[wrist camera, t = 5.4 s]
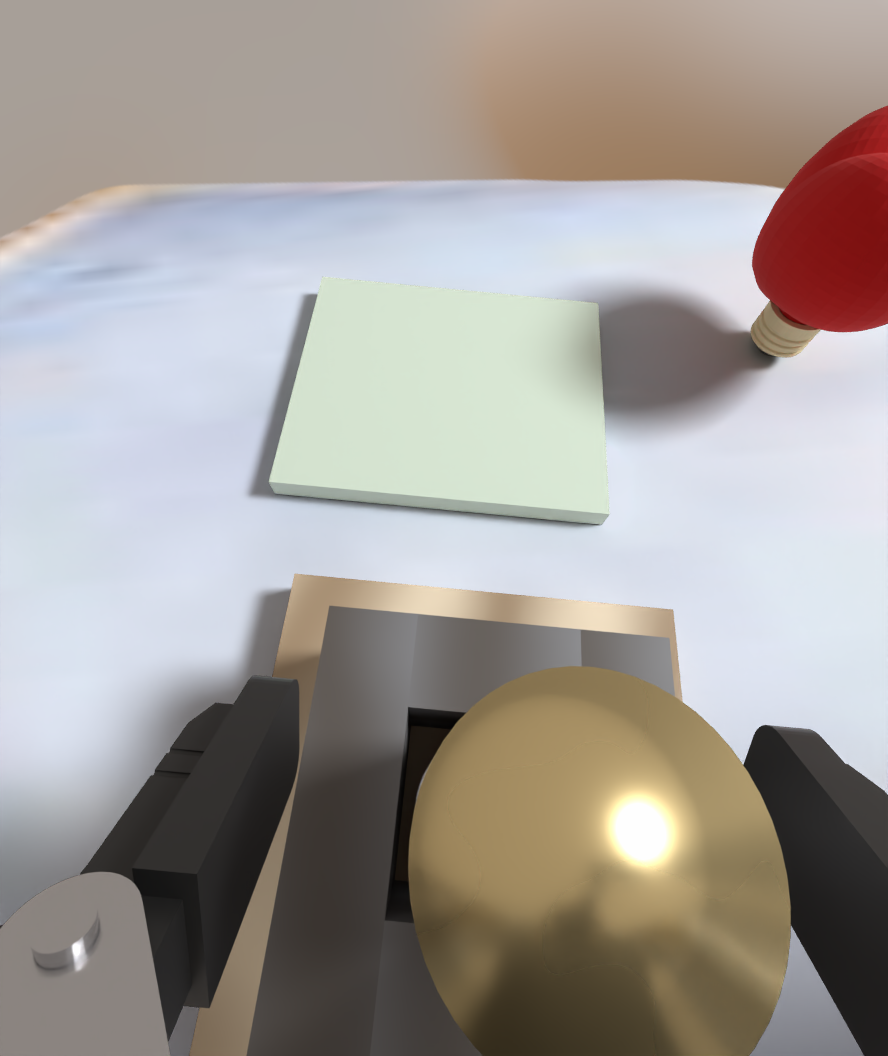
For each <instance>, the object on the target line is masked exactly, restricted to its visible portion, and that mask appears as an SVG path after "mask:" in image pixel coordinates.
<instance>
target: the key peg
mask: <svg viewBox="0 0 888 1056" xmlns="http://www.w3.org/2000/svg"><path fill="white" fill-rule="evenodd" d="M408 876H409V891H410V902H411V908H412V913H413V919H414V924H415V930H416V933H417V937H418V940H419V943H420V947H421V950H422V953H423V957H424V960H425V963H426V965H427V968H428V970H429V972H430V975H431V977H432V979H433V982H434V984H435V986H436V989H437V991H438V993H439V994H440V996H441V998H442V1000H443V1001H444V1003H445V1005H446V1007H447V1008H448V1010H449V1012H450V1014H451V1015H452V1017H453V1019H454V1020H455V1022H456V1023H457V1024H458V1026H459V1027H460V1028H461V1030H462V1031H463V1032H464V1034H465V1035H466V1036H467V1038H468V1039H469V1040H470V1042H471V1043H472V1044H473V1046H474V1047H475V1048H476V1049H477V1050H478V1051H479V1052H480V1053H481V1054H482V1055H483V1056H749V1055H750V1054H751V1052H752V1051H753V1050H754V1048H755V1047H756V1045H757V1043H758V1041H759V1040H760V1038H761V1036H762V1034H763V1033H764V1031H765V1029H766V1027H767V1026H768V1024H769V1022H770V1019H771V1017H772V1014H773V1012H774V1009H775V1006H776V1004H777V1001H778V999H779V996H780V993H781V989H782V985H783V981H784V977H785V972H786V968H787V962H788V954H789V945H790V937H791V905H790V896H789V887H788V878H787V873H786V868H785V863H784V859H783V854H782V850H781V846H780V843H779V840H778V837H777V834H776V831H775V828H774V825H773V822H772V819H771V817H770V815H769V812H768V810H767V808H766V805H765V803H764V801H763V799H762V796H761V794H760V793H759V791H758V789H757V787H756V785H755V784H754V782H753V780H752V778H751V777H750V775H749V773H748V771H747V770H746V768H745V767H744V766H743V764H742V763H741V761H740V760H739V759H738V757H737V756H736V754H735V753H734V752H733V750H732V749H731V748H730V746H729V745H728V744H727V743H726V742H725V741H724V740H723V738H722V737H721V736H720V735H719V734H718V733H717V732H716V731H715V729H714V728H713V727H711V726H710V725H709V724H708V723H707V722H706V721H705V720H704V719H703V718H702V717H701V716H700V715H698V714H697V713H696V712H695V711H694V710H692V709H691V708H690V707H688V706H687V705H686V704H684V703H683V702H682V701H680V700H679V699H678V698H676V697H674V696H673V695H671V694H669V693H668V692H666V691H664V690H662V689H661V688H659V687H657V686H655V685H653V684H651V683H648V682H646V681H644V680H642V679H639V678H637V677H635V676H631V675H628V674H624V673H621V672H618V671H614V670H609V669H603V668H597V667H584V666H567V667H558V668H549V669H545V670H541V671H537V672H533V673H529V674H526V675H524V676H521V677H519V678H517V679H514V680H512V681H509V682H507V683H506V684H504V685H502V686H500V687H499V688H497V689H495V690H494V691H492V692H490V693H489V694H488V695H486V696H485V697H484V698H483V699H481V700H480V701H479V702H477V703H476V704H475V705H474V706H472V707H471V708H470V710H469V711H468V712H467V713H466V714H465V715H464V716H463V717H462V718H461V719H460V720H459V721H458V722H457V723H456V724H455V726H454V727H453V728H452V730H451V731H450V732H449V734H448V735H447V736H446V738H445V739H444V740H443V742H442V744H441V745H440V747H439V749H438V751H437V752H436V754H435V756H434V757H433V759H432V761H431V763H430V764H429V766H428V768H427V770H426V771H425V773H424V775H423V777H422V779H421V782H420V784H419V788H418V791H417V797H416V802H415V808H414V814H413V820H412V826H411V833H410V839H409V859H408Z"/></svg>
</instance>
